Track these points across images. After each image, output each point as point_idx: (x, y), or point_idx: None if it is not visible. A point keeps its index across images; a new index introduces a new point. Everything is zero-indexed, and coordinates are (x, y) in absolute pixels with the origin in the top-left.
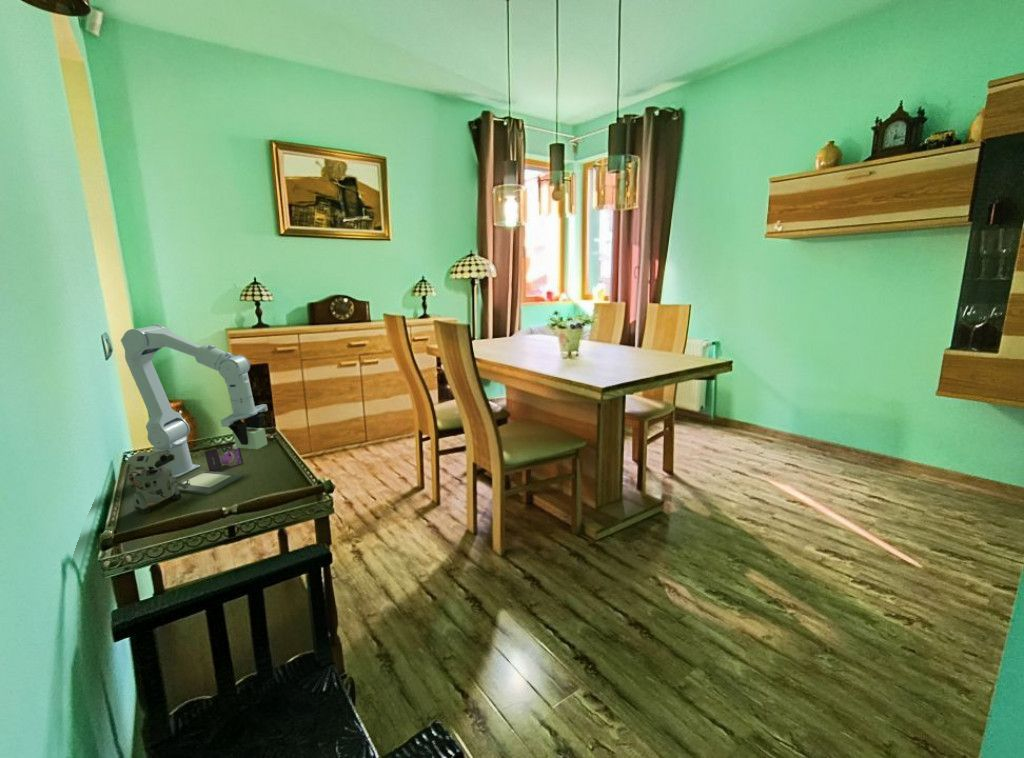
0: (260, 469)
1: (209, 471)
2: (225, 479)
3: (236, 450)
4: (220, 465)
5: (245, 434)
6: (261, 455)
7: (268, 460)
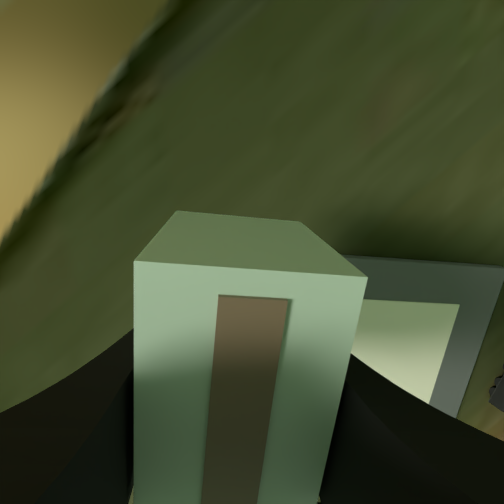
0: None
1: None
2: (385, 297)
3: None
4: None
5: (365, 381)
6: (87, 352)
7: None
